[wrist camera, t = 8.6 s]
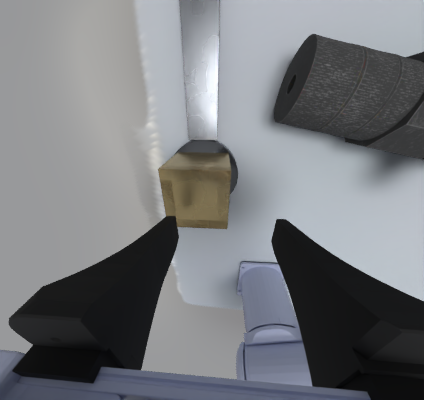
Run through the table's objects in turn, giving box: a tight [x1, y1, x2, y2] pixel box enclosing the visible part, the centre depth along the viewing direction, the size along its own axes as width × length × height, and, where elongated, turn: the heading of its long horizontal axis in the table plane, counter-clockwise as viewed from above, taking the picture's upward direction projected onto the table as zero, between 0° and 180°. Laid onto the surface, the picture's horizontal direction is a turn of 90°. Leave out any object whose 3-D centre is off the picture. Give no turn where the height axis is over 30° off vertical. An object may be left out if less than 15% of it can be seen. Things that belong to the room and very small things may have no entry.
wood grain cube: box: [158, 152, 231, 229], centre depth 15 cm, size 6×6×6 cm
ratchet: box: [175, 0, 238, 194], centre depth 14 cm, size 22×8×5 cm, turn 0°
